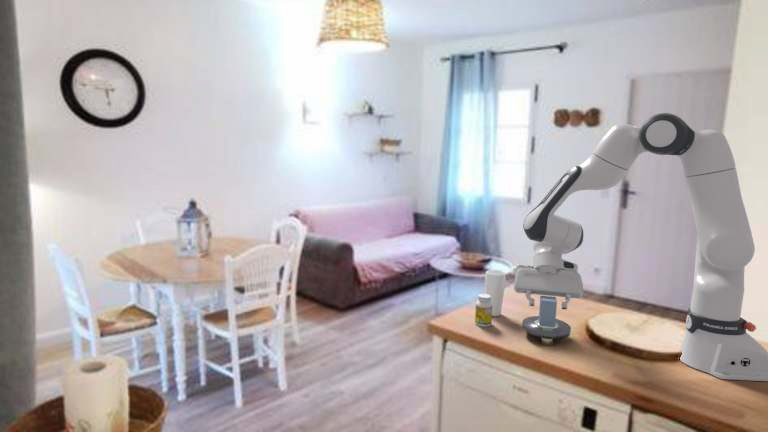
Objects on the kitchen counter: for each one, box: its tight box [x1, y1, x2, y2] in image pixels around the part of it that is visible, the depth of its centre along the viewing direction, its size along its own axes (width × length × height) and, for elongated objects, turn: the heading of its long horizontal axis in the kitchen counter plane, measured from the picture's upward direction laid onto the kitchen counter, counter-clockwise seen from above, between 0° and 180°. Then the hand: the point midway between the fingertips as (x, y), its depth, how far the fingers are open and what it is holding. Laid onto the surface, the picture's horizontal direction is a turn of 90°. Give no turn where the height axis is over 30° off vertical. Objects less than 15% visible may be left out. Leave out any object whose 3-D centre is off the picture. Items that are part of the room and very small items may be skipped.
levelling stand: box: [521, 315, 572, 347], centre depth 142 cm, size 14×14×5 cm
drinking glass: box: [484, 269, 507, 317], centre depth 159 cm, size 7×7×15 cm
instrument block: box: [538, 295, 558, 327], centre depth 141 cm, size 4×4×8 cm
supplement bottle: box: [474, 293, 493, 327], centre depth 151 cm, size 5×5×10 cm
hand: (548, 307), depth 140 cm, fingers open, 8 cm apart
